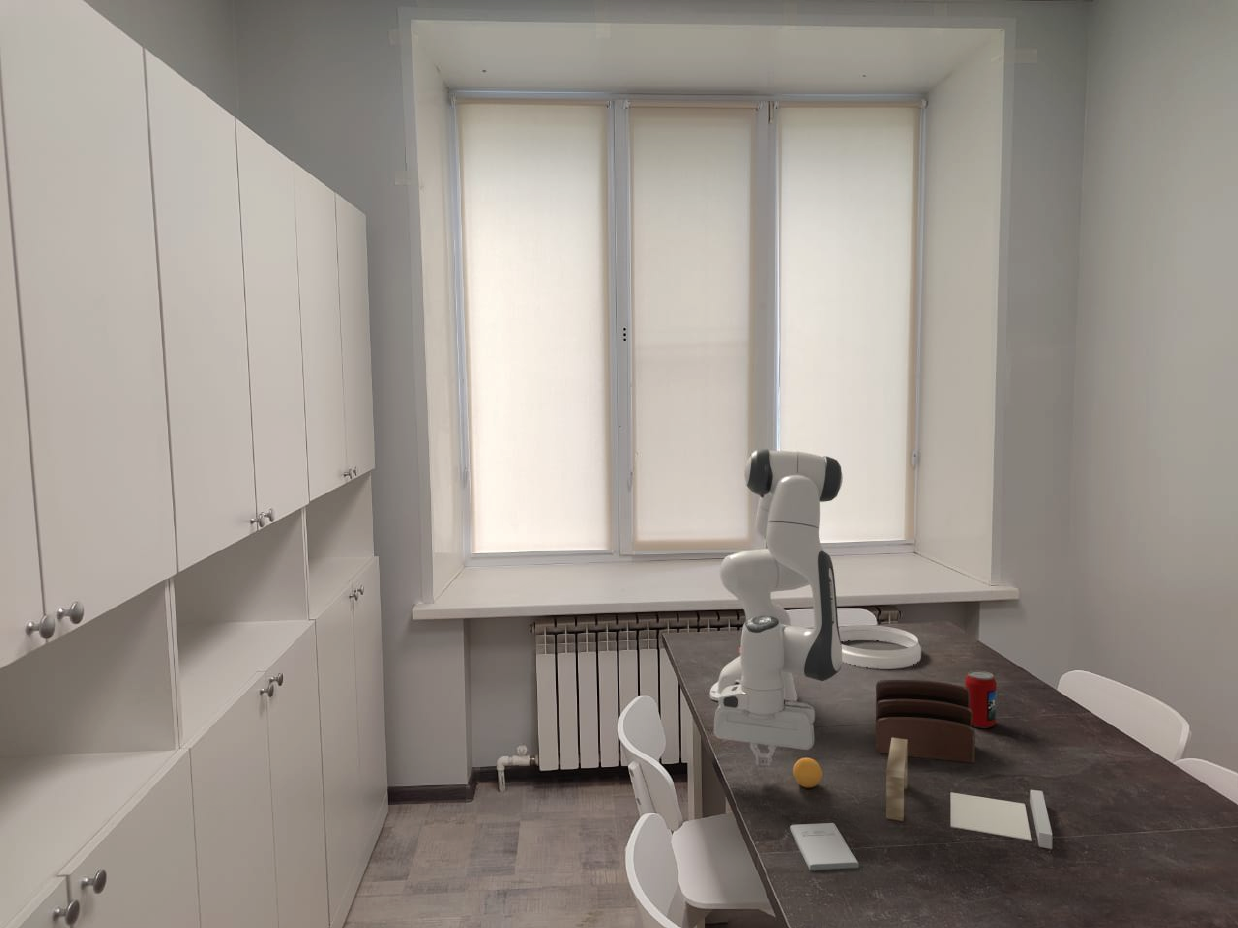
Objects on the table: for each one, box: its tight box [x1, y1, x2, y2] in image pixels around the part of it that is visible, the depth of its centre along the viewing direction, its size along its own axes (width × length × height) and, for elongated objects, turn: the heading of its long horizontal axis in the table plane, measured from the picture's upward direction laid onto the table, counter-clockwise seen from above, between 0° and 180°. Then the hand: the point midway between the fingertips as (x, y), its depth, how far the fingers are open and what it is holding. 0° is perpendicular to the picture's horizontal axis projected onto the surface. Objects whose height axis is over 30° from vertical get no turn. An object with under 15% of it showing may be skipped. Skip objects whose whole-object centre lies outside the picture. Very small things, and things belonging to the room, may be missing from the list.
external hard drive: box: [789, 822, 859, 871], centre depth 137 cm, size 2×8×12 cm
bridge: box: [885, 738, 908, 822], centre depth 152 cm, size 3×15×9 cm, turn 157°
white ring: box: [838, 624, 922, 670], centre depth 238 cm, size 27×27×6 cm
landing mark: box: [949, 791, 1033, 842], centre depth 146 cm, size 13×13×1 cm
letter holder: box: [875, 679, 976, 764], centre depth 174 cm, size 10×20×14 cm, turn 73°
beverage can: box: [964, 669, 998, 729], centre depth 186 cm, size 7×7×12 cm
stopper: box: [1029, 789, 1053, 850], centre depth 142 cm, size 2×16×2 cm, turn 157°
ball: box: [792, 757, 823, 788], centre depth 158 cm, size 6×6×6 cm
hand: (763, 763), depth 161 cm, fingers closed
